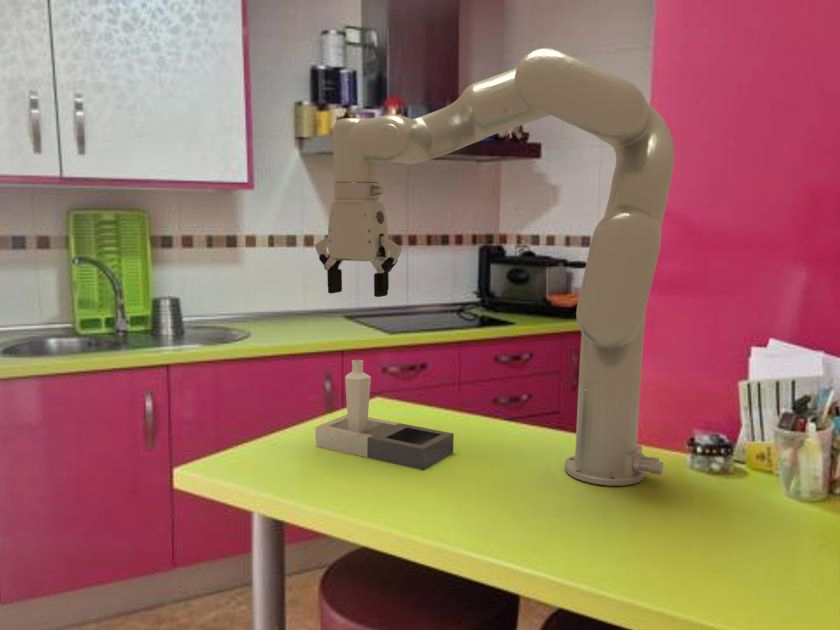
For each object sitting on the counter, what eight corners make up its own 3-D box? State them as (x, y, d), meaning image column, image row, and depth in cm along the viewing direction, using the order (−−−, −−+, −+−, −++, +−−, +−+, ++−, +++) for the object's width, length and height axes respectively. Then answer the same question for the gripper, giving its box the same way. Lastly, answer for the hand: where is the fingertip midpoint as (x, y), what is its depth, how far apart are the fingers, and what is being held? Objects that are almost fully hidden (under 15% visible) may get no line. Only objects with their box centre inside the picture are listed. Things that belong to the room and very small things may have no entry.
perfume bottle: (356, 438, 140) (356, 357, 138) (374, 443, 137) (374, 360, 135) (338, 444, 137) (338, 361, 134) (356, 449, 134) (356, 364, 132)
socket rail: (453, 453, 133) (453, 433, 132) (423, 470, 124) (423, 449, 124) (349, 431, 144) (349, 413, 143) (315, 446, 135) (315, 426, 135)
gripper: (411, 193, 129) (411, 295, 132) (329, 194, 138) (330, 289, 140) (387, 193, 123) (387, 300, 125) (302, 193, 132) (304, 293, 134)
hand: (357, 294), depth 133 cm, fingers open, 9 cm apart
